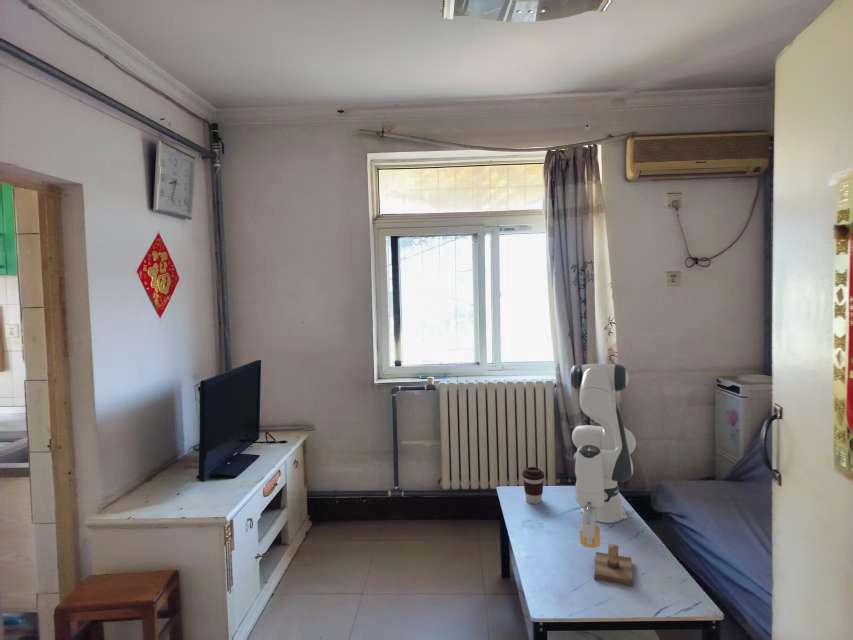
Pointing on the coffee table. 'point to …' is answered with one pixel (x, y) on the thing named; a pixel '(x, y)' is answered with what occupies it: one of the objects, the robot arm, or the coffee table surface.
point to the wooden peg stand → (613, 567)
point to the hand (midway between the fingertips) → (590, 536)
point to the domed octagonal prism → (595, 540)
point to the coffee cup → (533, 484)
